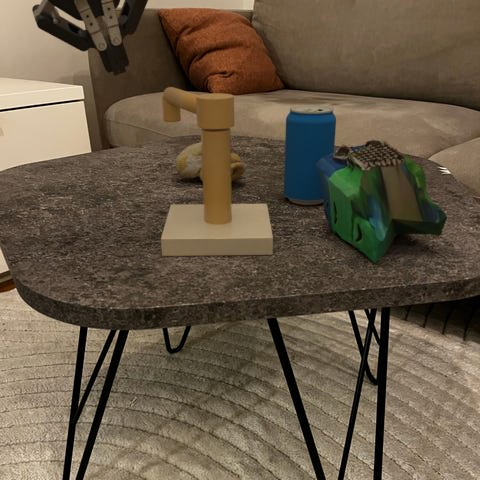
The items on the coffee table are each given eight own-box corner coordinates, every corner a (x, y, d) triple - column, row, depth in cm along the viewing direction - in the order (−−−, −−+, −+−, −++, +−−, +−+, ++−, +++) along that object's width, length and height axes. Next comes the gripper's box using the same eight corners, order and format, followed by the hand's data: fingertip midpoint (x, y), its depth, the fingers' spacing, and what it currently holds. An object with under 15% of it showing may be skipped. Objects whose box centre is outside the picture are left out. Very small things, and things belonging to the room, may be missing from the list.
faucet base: (162, 256, 64) (153, 140, 58) (171, 219, 74) (165, 119, 69) (272, 255, 64) (275, 139, 58) (266, 218, 74) (268, 118, 69)
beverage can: (338, 197, 82) (345, 107, 77) (316, 209, 78) (322, 114, 72) (298, 190, 86) (301, 102, 80) (274, 201, 81) (276, 109, 75)
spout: (240, 141, 63) (240, 97, 61) (206, 145, 62) (205, 99, 59) (183, 118, 76) (181, 80, 74) (154, 120, 74) (151, 82, 72)
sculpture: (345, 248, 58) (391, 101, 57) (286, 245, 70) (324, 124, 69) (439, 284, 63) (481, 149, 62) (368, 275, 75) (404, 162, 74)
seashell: (219, 128, 96) (252, 141, 83) (226, 165, 99) (258, 183, 86) (161, 142, 94) (185, 157, 81) (169, 179, 97) (194, 200, 84)
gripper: (119, -135, 54) (162, 30, 70) (-18, -89, 53) (56, 68, 69) (142, -94, 51) (182, 70, 66) (-5, -44, 50) (71, 111, 65)
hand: (118, 69), depth 68 cm, fingers closed
